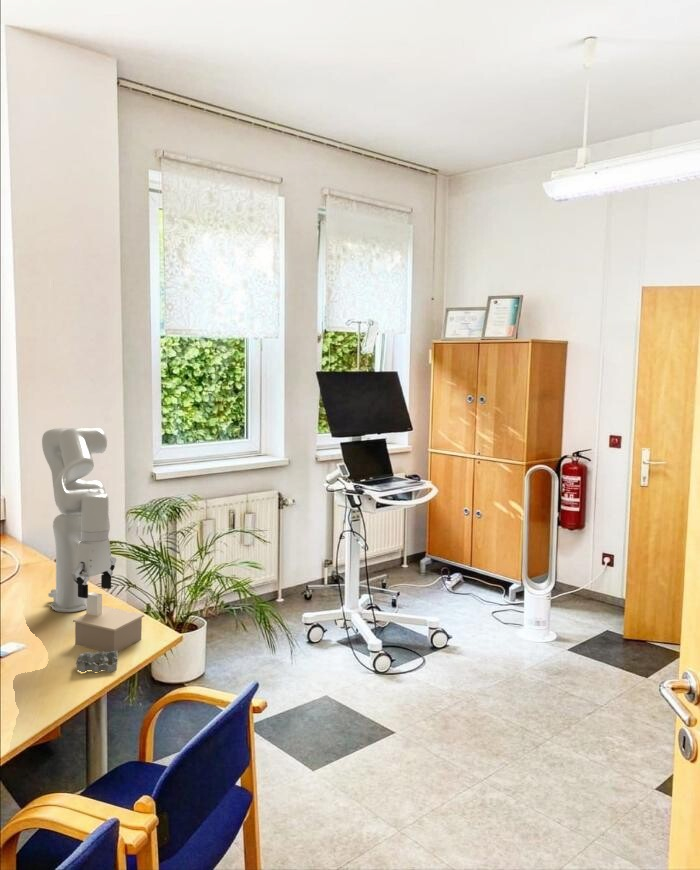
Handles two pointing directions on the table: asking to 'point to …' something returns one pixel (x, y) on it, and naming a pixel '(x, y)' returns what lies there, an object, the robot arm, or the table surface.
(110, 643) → the carton
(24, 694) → the table surface
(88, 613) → the lid
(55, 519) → the robot arm
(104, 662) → the egg carton
